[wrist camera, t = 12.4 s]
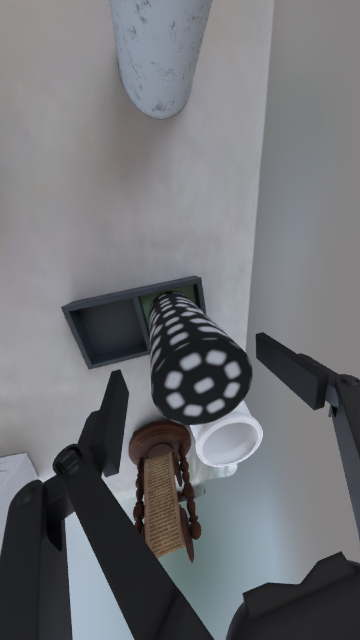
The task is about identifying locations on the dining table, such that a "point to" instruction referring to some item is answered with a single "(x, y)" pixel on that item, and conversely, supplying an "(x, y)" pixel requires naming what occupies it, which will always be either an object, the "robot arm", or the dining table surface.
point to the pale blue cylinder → (159, 50)
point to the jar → (228, 438)
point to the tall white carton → (13, 483)
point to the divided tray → (122, 320)
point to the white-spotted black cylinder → (193, 363)
